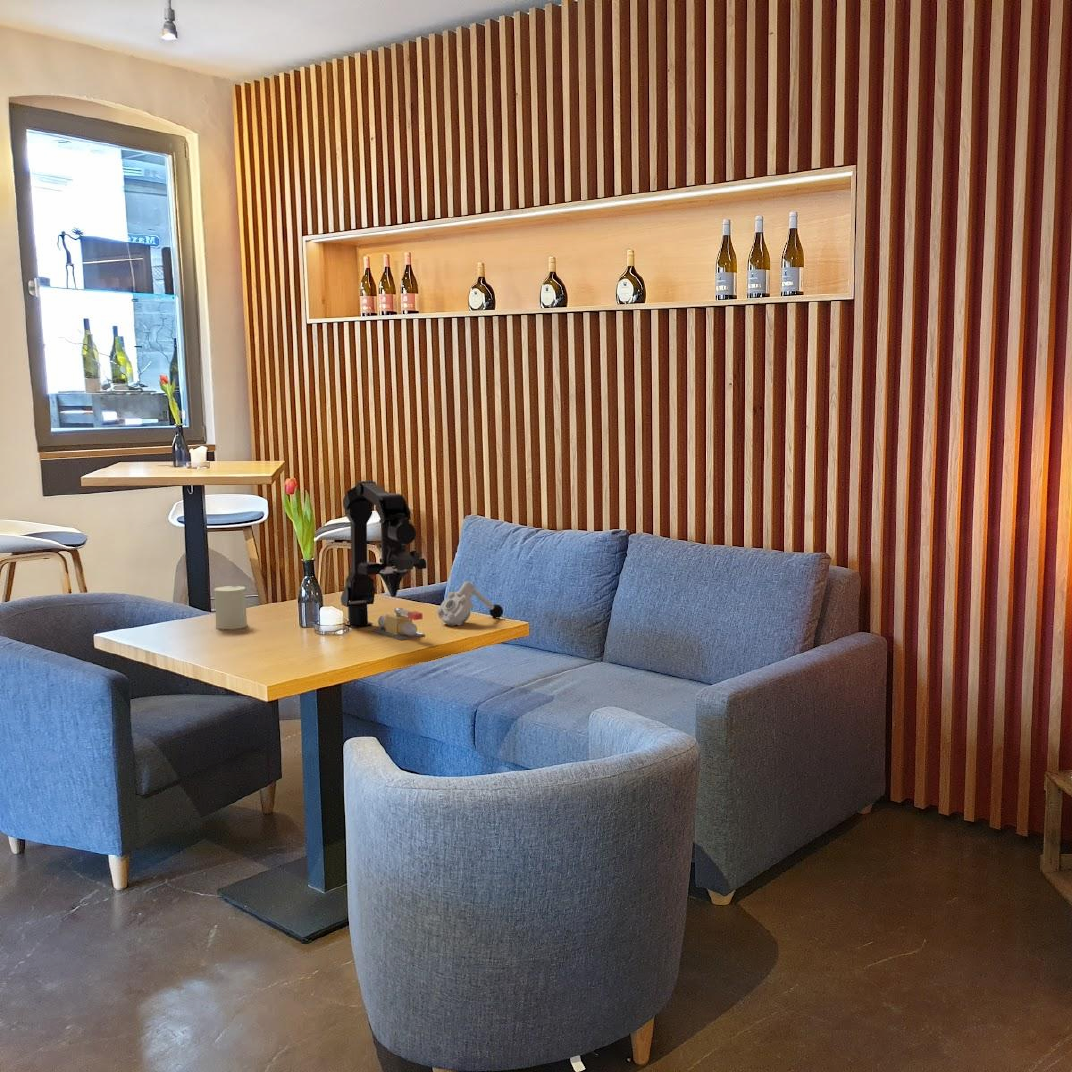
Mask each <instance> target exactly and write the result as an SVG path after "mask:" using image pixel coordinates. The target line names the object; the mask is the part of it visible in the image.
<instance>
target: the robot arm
mask: <svg viewBox="0 0 1072 1072" xmlns="http://www.w3.org/2000/svg"><path fill="white" fill-rule="evenodd" d="M342 507H343V509H344V515H345V516H346V518H347V519H348V520H349V522H350V572H349V573H348V575H347V577H346V579H345V586H344V588H343V591H342V593H341V596H340V603H341V606H344V607H346V608H347V618H348V619H347V620H349V622H350V626H349V627H351V628H359V627H365V626H371V625H373V623H372V622H370V621H369V616H368V611H369V610H368V605H374V602H375V595H376V589H375V585H374V582H375V580H374V579H373V578H372V576H374V575H379V576H380V577H381V579H382V580H383V582H384V584H385V586H386V588H387V591H388V592H389V594H390V596H391V598H396V597H397V594H398V591H399V588H400V584H401V581H402V580H403V578H404V577H405V576H406V575H408V574H409V573H410V572H409V571H408V570H410V571H411V570H413V569H414V568H415V569H416V570H424V569H427V567H428V565H427V560H426V559H425V558H424V557H420V552H419V551H418V550H411V551H407V549H406V545H410V544H411V543H413V542H414V540H415V539H416V536H417V531H416V528H415V526H413V524H412V523H409V522H410V520H411V518H412V517H411V514H412V513H411V510H410V509H409V506H408V503H407V501H406V499H405V498H404V496H403V495H402V494H401V493H398V492H396V493H395V492H394V493H393V492H389V491H386V490H385V489H384V488H383V487H381V486H379V485H378V484H377V483H376V481H373V480H360V481H358V482H357V483H356V485H355V486H353V487H351V488H350V489H349V490H347V492H345V495H344V497H343V499H342ZM374 507H375V511H376V513H377V515H378V517H379V523H380V535H381V536H380V539H381V541H380V543H379V544H378V547H379V548H380V549H381V558H379V562H373V561H368V522H369V520H370V519H371V517H372V516H373V508H374Z"/></svg>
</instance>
